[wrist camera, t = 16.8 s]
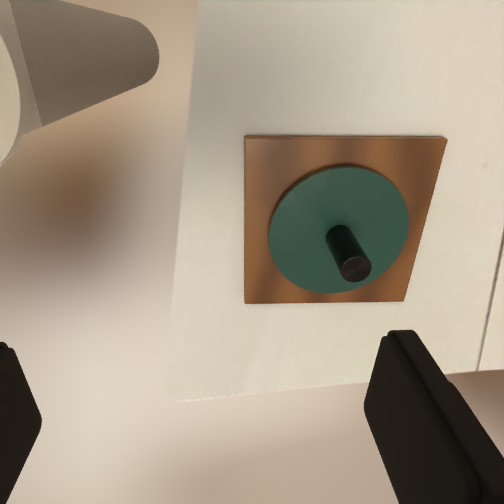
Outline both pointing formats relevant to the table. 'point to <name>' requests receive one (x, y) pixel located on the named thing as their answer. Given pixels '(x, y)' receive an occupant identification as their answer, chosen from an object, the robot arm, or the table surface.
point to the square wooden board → (316, 159)
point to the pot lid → (338, 229)
